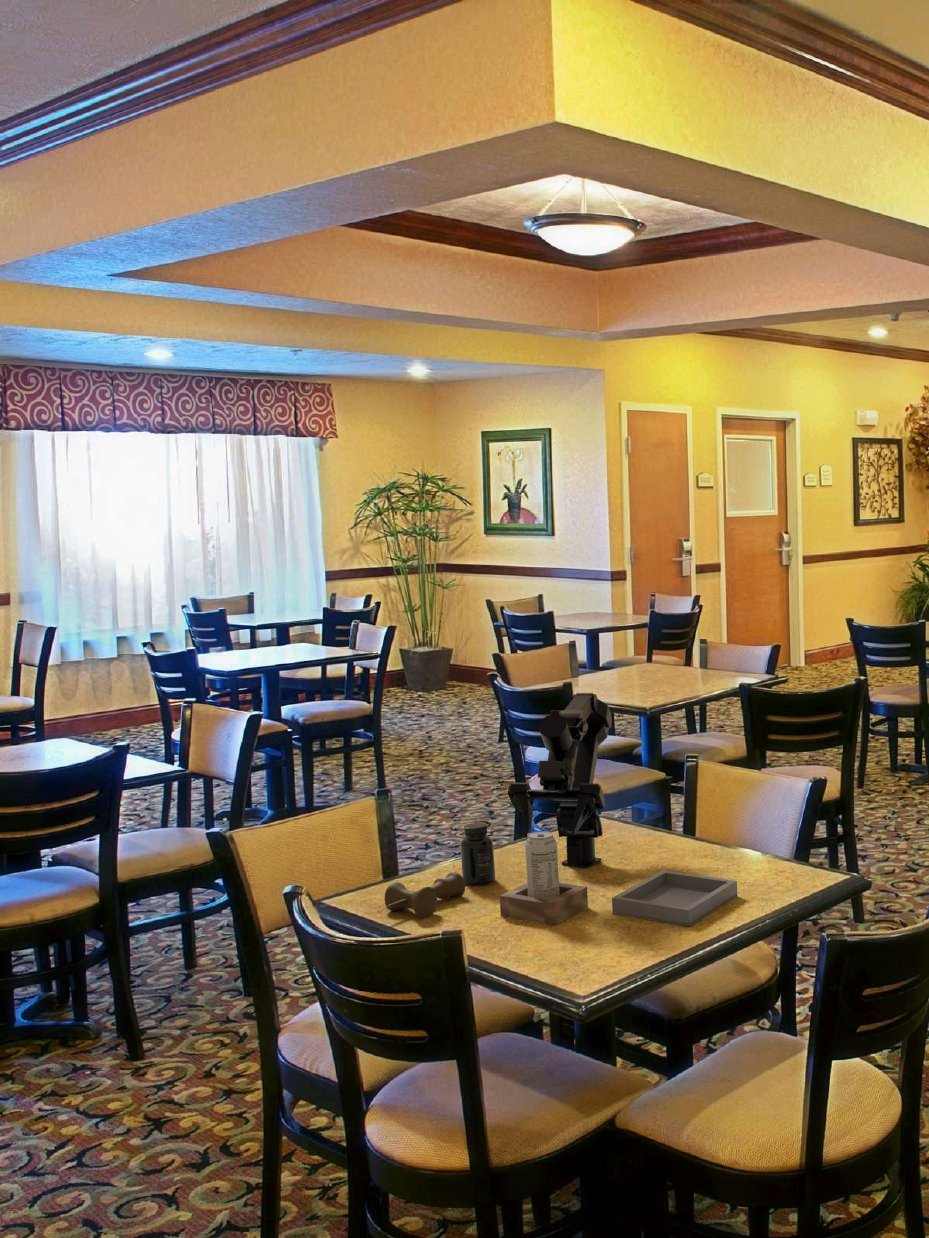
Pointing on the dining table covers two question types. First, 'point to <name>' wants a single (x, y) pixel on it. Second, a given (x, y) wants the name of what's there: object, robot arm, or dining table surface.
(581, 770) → the robot arm
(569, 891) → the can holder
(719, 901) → the parts tray
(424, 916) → the kendama
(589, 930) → the dining table surface
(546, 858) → the energy drink can
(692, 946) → the dining table surface
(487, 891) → the dining table surface
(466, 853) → the supplement bottle
